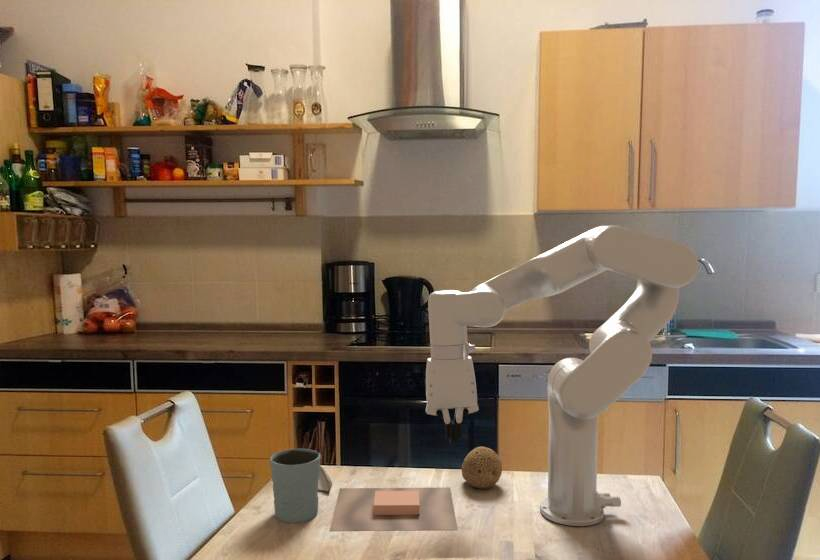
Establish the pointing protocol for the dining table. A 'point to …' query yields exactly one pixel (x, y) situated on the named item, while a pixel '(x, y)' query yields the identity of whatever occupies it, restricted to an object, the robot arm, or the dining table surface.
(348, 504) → the board
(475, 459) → the natural sponge
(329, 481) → the ceramic fragment
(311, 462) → the grey green cup
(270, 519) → the dining table surface
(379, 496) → the tile
